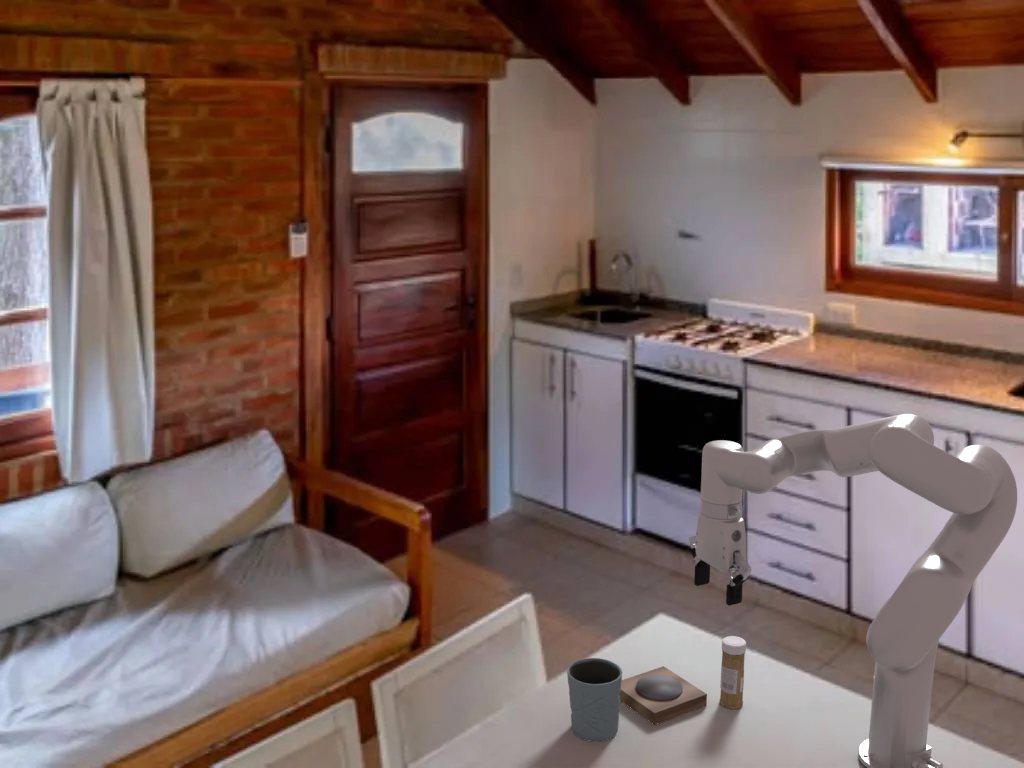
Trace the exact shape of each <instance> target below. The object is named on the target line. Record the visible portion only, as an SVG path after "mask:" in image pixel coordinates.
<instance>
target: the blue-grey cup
mask: <svg viewBox="0 0 1024 768" xmlns="http://www.w3.org/2000/svg"><path fill="white" fill-rule="evenodd" d="M566 673H567V675H566V676H567V684H568V695H569V703H570V704H569V706H570V711H571V715H570V720H571V729H572V733H574V735H575V736H576V737H577V736H578V737H577V738H579V739H581V740H583V739H585V740H584V741H586V740H590V741H589V742H593V741H599V742H603V741H602V740H606V741H608V740H607V739H609V740H611V739H613V738H614V737H615V736H616V735H617V734H616V733H618V730H619V721H620V708H621V701H620V692H621V691H620V689H621V681H622V680H623V679H622V678H623V670H622V668H621V666H619V665H618V664H617V663H615V662H614V661H611V660H608V659H604V658H597V657H591V658H590V657H589V658H588V657H587V658H582V659H578V660H576V661H573V662H572V663H571V664H570V665H569V666H568V667H567V671H566ZM613 736H614V737H613ZM612 737H613V738H612ZM610 738H611V739H610Z"/></svg>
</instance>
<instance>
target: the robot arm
mask: <svg viewBox="0 0 1024 768" xmlns="http://www.w3.org/2000/svg"><path fill="white" fill-rule="evenodd" d="M934 444H935V436H934V431H933V428H932V427H931V424H929V422H928V421H927V420H926V419H924V418H923V417H922V416H919V415H918V414H912V413H902V414H896V415H891V416H888V417H883V418H877V419H874V420H868V421H864V422H861V423H860V422H859V423H856V424H851V425H846V426H840V427H836V428H832V429H831V428H830V429H819V430H810V431H802V432H800V433H799V432H798V433H793V434H789V435H784V436H781V437H775V438H772V439H768V440H766V441H764V442H762V443H761V444H759V445H758V446H756V447H755V448H754V449H752V450H751V449H750V450H748V451H745V450H744V447H743V446H742V445H741V444H740V443H738V442H735V441H732V440H724V439H722V440H721V439H720V440H719V439H718V440H712V441H709V442H706V443H705V445H704V446H703V448H702V454H701V481H700V508H699V512H698V513H699V514H698V519H697V524H696V531H695V536H691V537H689V538H688V541H689V545H690V553H691V555H692V558H693V560H692V563H693V565H694V581H693V582H694V585H695V586H696V587H699V586H702V585H707V584H710V582H711V581H710V580H711V578H710V577H711V567H713V568H714V569H716V570H718V571H720V572H722V573H724V574H725V576H726V578H727V582H728V583H727V584H726V593H725V594H726V595H725V597H726V598H725V604H726V605H727V606H733V605H738V604H741V603H742V601H743V585H745V583H746V581H747V580H749V577H750V574H751V573H752V566H750V564H749V563H748V561H747V534H746V526H745V521H744V518H743V517H742V515H743V513H742V511H743V493H744V491H745V492H747V493H751V494H754V495H755V494H756V495H763V494H767V493H769V492H770V491H772V490H773V489H774V488H776V487H777V486H778V485H779V484H780V483H781V482H783V481H784V480H785V479H787V478H789V477H792V476H797V475H802V474H808V473H813V472H821V471H827V472H832V473H834V474H835V475H836V476H837V477H841V478H849V477H854V476H859V475H864V474H869V473H874V472H875V473H876V472H879V473H881V474H882V475H883V476H885V477H886V478H888V479H890V481H893V482H894V483H896V484H898V485H899V486H901V487H903V488H904V489H907V490H909V491H910V492H912V493H914V494H915V495H918V496H920V497H921V498H923V499H924V500H927V501H928V502H931V503H932V504H935V506H938V507H940V508H941V509H944V510H946V511H948V512H951V513H952V514H951V515H950V517H949V519H948V520H947V521H946V523H945V524H944V527H943V528H942V530H941V531H940V532H939V534H938V535H937V536H936V538H935V539H934V540H933V541H932V542H931V544H930V545H929V547H928V548H927V549H926V550H925V551H924V552H923V553H922V554H921V555H920V556H919V558H917V559H916V561H915V562H914V563H913V564H912V566H911V567H910V569H909V570H908V572H907V574H905V576H904V577H903V579H902V581H901V582H900V583H899V584H898V586H897V587H896V589H895V590H894V591H893V593H892V595H891V596H890V597H889V598H888V599H887V600H886V601H885V603H883V605H882V606H881V608H880V610H879V611H878V612H877V614H876V616H875V617H874V619H873V620H872V622H871V623H870V625H869V627H868V629H867V632H866V637H865V638H866V640H865V641H866V646H867V647H866V648H867V650H868V652H869V654H870V655H869V656H870V657H871V658H872V659H873V661H874V662H875V663H874V664H875V665H874V674H873V686H872V698H871V706H870V707H871V709H870V718H869V719H870V720H869V732H868V738H867V739H866V740H864V741H862V742H861V743H860V745H859V746H858V755H857V757H858V760H859V761H860V762H861V764H862V765H863V766H866V767H867V768H943V767H944V764H943V763H942V762H940V761H938V760H937V759H934V758H933V756H932V748H933V747H932V746H930V745H928V744H927V742H928V741H927V740H928V731H929V720H930V710H931V703H932V701H931V700H932V690H933V686H934V685H933V684H934V673H935V666H936V659H937V653H938V652H937V651H938V648H939V642H940V639H941V637H942V636H943V635H944V634H945V632H946V630H948V628H949V627H950V626H951V624H952V623H953V621H954V620H955V618H957V615H958V614H959V612H960V611H961V610H962V608H963V605H964V604H965V602H966V600H967V599H968V596H969V593H970V591H971V589H972V587H973V585H974V583H975V581H976V580H977V578H978V576H979V575H980V573H981V572H982V571H983V570H984V568H985V567H986V565H987V564H988V562H989V561H990V560H991V558H992V557H993V555H994V554H995V553H996V551H997V549H998V548H999V547H1000V545H1001V544H1002V542H1004V539H1005V537H1006V536H1007V534H1008V532H1009V530H1010V528H1011V526H1012V523H1013V522H1014V518H1015V517H1016V516H1015V515H1016V512H1017V506H1018V488H1017V487H1018V486H1017V482H1016V478H1015V476H1014V473H1013V471H1012V469H1011V467H1010V465H1009V463H1008V462H1007V460H1006V459H1005V458H1004V457H1003V455H1002V454H1000V452H998V451H997V450H996V449H995V448H993V447H991V446H988V445H984V444H973V445H968V446H965V447H962V448H961V449H959V450H958V451H956V452H955V453H954V454H952V453H949V452H948V451H945V450H944V449H941V448H939V447H937V446H936V445H934ZM733 573H735V575H736V576H735V577H734V575H733ZM866 767H865V768H866Z"/></svg>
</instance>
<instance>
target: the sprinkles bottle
mask: <svg viewBox="0 0 1024 768" xmlns="http://www.w3.org/2000/svg"><path fill="white" fill-rule="evenodd" d="M721 651H722V654H721V669H720V698H719V704H720V705H721V706H722V707H723V708H726V709H730V710H736V709H738V710H739V708H742V707H743V704H744V701H743V696H744V686H745V685H744V684H745V683H744V681H745V654H746V651H747V641H746V640H745V639H743V638H742V637H739V636H735V635H731V636H725V637H724V638H723V639H722V641H721Z"/></svg>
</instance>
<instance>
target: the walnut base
mask: <svg viewBox="0 0 1024 768" xmlns="http://www.w3.org/2000/svg"><path fill="white" fill-rule="evenodd" d="M620 691H621V692H620V700H621V701H622V702H621V701H620V702H621V703H623V704H624V703H625V704H626V705H625V704H624V705H625V706H627V705H628V706H629V707H628V706H627V707H628V708H630V707H631V708H632V709H633V710H632V709H631V708H630V709H631V710H632V711H634V712H635V711H636V712H635V713H637V712H638V713H637V714H638V715H639V714H640V715H639V716H641V717H642V718H643V719H645V720H646V719H647V720H646V721H648V720H649V721H650V722H649V721H648V722H649V723H651V724H652V723H653V724H654V725H653V724H652V725H653V726H657V725H658V724H657V723H659V724H661V723H664V722H666V721H665V720H667V721H669V720H671V718H672V719H675V718H677V716H678V717H680V716H683V715H685V713H686V714H687V713H690V712H694V711H696V710H698V709H702V708H704V707H707V703H708V694H707V693H706V692H705V691H703V690H702V689H700V688H698V687H697V686H696V685H694V684H693V683H690V681H688V680H685V679H684V678H682V677H681V675H680V676H679V675H678V674H677V673H675V672H674V671H672V670H670V669H669V668H667V667H666V666H664V665H663V666H661V667H657V668H654V669H651V670H648V671H644V672H642V673H640V674H639V673H638V674H636V675H633V676H631V677H627V678H624V679H622V681H621V689H620ZM701 707H702V708H701ZM695 709H696V710H695ZM682 714H683V715H682ZM674 717H675V718H674ZM668 719H669V720H668ZM663 721H664V722H663ZM660 722H661V723H660Z"/></svg>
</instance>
